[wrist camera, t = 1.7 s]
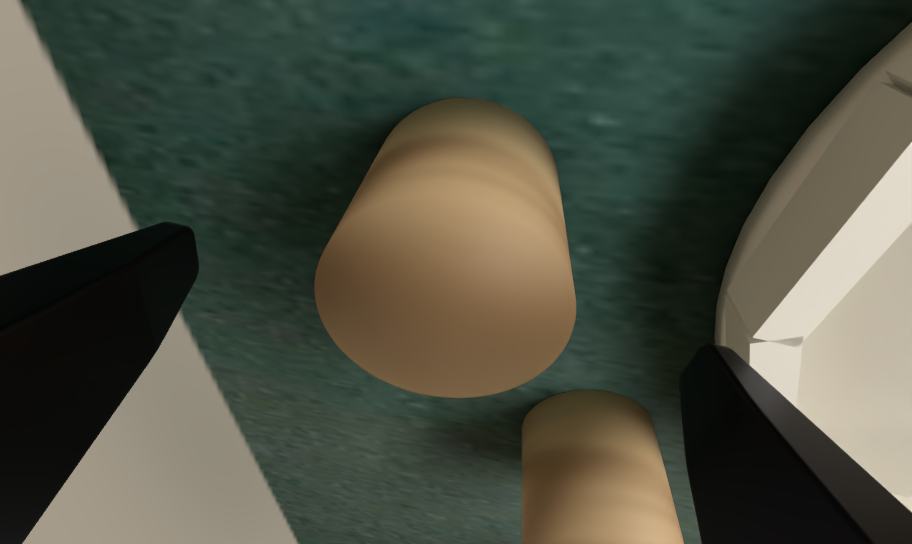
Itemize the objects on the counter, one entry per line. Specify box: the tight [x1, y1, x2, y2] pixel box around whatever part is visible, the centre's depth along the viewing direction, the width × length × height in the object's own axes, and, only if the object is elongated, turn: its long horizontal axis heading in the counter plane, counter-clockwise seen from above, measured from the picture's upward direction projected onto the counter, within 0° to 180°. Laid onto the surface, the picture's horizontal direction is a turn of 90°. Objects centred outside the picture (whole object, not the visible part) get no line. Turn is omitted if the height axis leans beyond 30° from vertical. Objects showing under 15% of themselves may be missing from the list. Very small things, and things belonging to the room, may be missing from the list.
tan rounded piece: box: [314, 98, 576, 398], centre depth 10 cm, size 4×4×4 cm
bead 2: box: [522, 390, 684, 544], centre depth 15 cm, size 4×4×4 cm
